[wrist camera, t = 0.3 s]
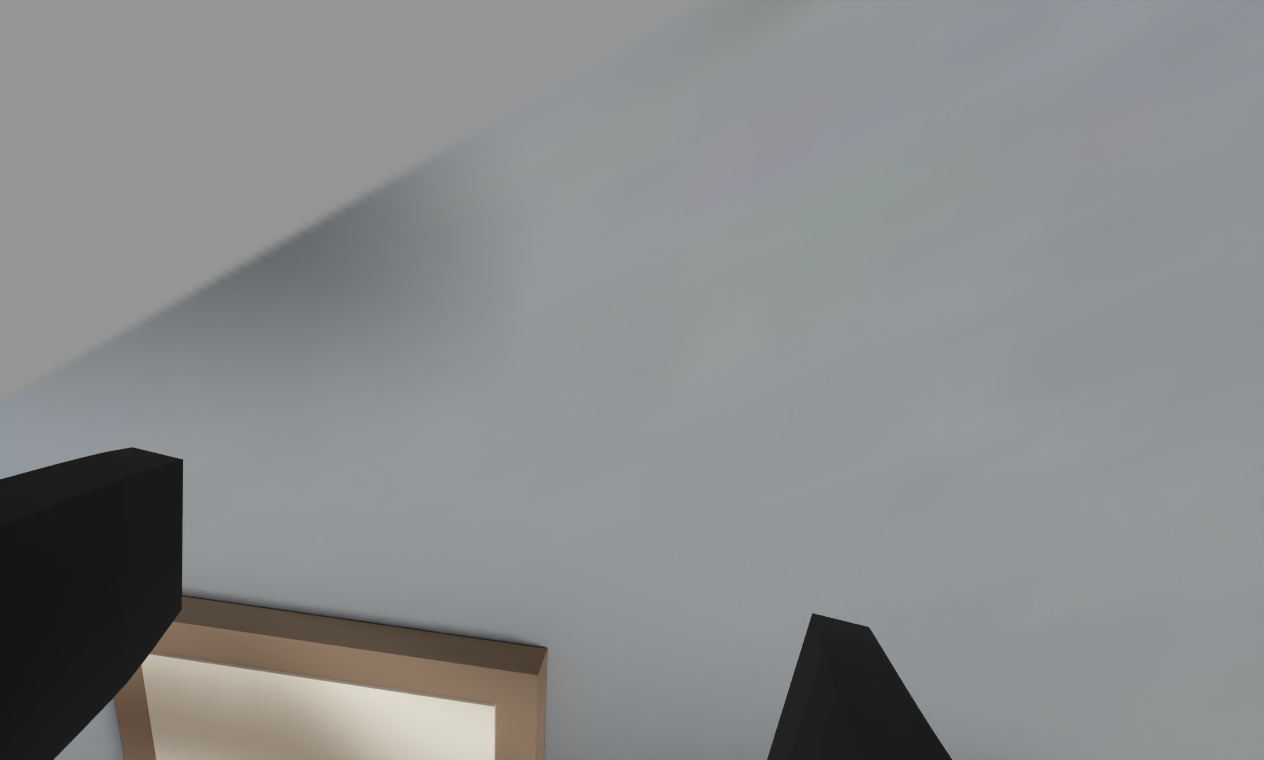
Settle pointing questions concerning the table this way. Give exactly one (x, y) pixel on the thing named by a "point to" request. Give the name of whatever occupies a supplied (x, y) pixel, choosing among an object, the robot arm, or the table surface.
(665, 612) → the table surface
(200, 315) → the table surface
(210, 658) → the brown picture frame
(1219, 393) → the table surface
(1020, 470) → the table surface
